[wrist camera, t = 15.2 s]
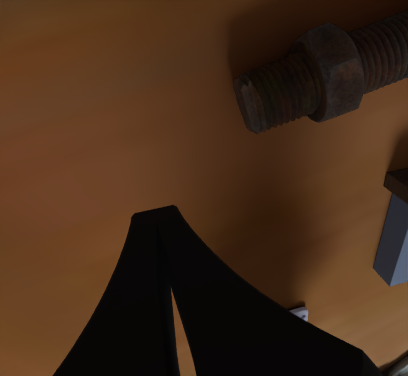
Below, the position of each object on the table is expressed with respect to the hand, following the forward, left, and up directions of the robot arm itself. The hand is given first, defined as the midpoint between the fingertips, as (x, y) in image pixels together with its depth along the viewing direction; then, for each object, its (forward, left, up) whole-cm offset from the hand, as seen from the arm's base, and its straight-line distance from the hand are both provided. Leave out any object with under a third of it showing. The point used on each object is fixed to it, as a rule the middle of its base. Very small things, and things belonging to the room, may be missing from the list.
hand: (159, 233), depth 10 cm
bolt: (+2, -13, -10) cm, 16 cm away
